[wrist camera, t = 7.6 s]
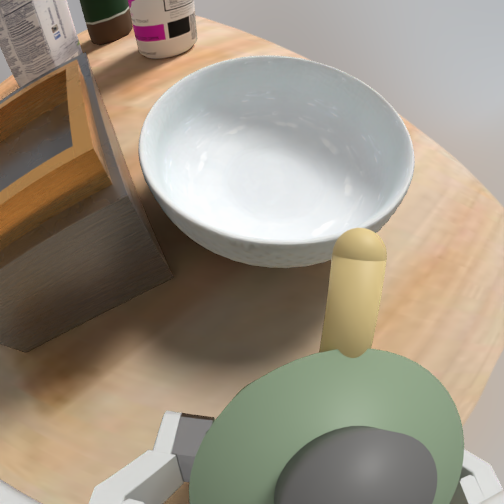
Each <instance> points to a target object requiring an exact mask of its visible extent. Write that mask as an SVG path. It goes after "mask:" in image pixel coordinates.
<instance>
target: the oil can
mask: <svg viewBox="0 0 504 504" xmlns="http://www.w3.org/2000/svg"><path fill="white" fill-rule="evenodd" d="M386 259H387V253H386V247H385V245H384V243H383V241H382V239H381V238H380V237H379V236H378V235H377V234H376V233H375V232H373V231H371V230H369V229H366V228H353V229H350V230H348V231H346V232H344V233H343V234H342V235H341V236H340V237H339V238H338V239H337V241H336V242H335V245H334V247H333V252H332V260H331V270H330V278H329V287H328V295H327V303H326V310H325V318H324V325H323V331H322V338H321V344H320V350H319V353H316V354H313V355H310V356H307V357H304V358H300V359H297V360H295V361H293V362H290V363H288V364H286V365H284V366H282V367H279V368H277V369H275V370H273V371H272V372H270V373H268V374H266V375H265V376H263V377H261V378H259V379H257V380H255V381H254V382H252V383H250V384H248V385H247V386H246V387H244V388H243V389H242V390H241V391H240V392H239V393H238V394H237V395H236V396H235V397H234V398H233V400H232V401H231V402H230V403H229V404H228V405H227V407H226V408H225V409H224V410H223V411H222V413H221V414H220V415H219V416H218V417H217V419H216V420H215V421H214V422H213V424H212V426H211V427H210V429H209V430H208V432H207V433H206V435H205V437H204V438H203V440H202V442H201V445H200V447H199V449H198V451H197V454H196V456H195V459H194V463H193V467H192V470H191V475H190V484H189V500H190V504H450V502H451V499H452V497H453V495H454V493H455V490H456V488H457V485H458V481H459V478H460V475H461V470H462V464H463V457H464V437H463V429H462V424H461V420H460V416H459V413H458V411H457V408H456V405H455V403H454V402H453V400H452V398H451V396H450V394H449V393H448V391H447V390H446V389H445V387H444V386H443V385H442V384H441V382H440V381H439V380H438V379H437V378H436V377H435V376H434V375H432V374H431V373H430V372H429V371H428V370H426V369H425V368H423V367H422V366H421V365H419V364H418V363H416V362H414V361H412V360H410V359H407V358H405V357H403V356H400V355H397V354H394V353H391V352H388V351H381V350H376V349H371V346H372V341H373V337H374V332H375V327H376V322H377V317H378V311H379V306H380V300H381V294H382V288H383V281H384V274H385V267H386Z"/></svg>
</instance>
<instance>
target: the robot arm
mask: <svg viewBox="0 0 504 504" xmlns="http://www.w3.org/2000/svg"><path fill="white" fill-rule="evenodd" d="M214 421H215V420H214V417H207V416H200V415H192V414H186V413H179V412H173V411H166V412H165V413H164V415H163V418H162V422H161V425H160V428H159V431H158V435H157V438H156V441H155V445H154V448H153V451H152V450H147V451H146V452H145V453H143V454H142V455H140V456H139V457H138V458H136V459H135V460H134V461H132V462H131V463H129V464H128V465H127V466H125V467H124V468H122V469H121V470H119V471H118V472H116V473H115V474H114V475H112V476H111V477H109V478H108V479H106V480H105V481H103V482H102V483H100V484H99V485H97V486H96V487H95V488H94V491H93V493H92V496H91V499H90V501H89V504H163V503H164V502H165V501H166V500H167V499H168V498H169V497H170V496H171V495H172V494H173V493H174V492H175V491H176V490H177V489H178V488H179V487H180V486H181V485H182V484H183V482H190V475H191V470H192V467H193V463H194V459H195V456H196V454H197V451H198V449H199V447H200V445H201V442H202V440H203V438H204V437H205V435H206V433H207V432H208V430H209V429H210V427H211V426H212V424H213V422H214ZM0 504H43V503H41V502H39V501H37V500H35V499H33V498H31V497H30V496H28V495H26V494H24V493H22V492H21V491H19V490H17V489H16V488H14V487H12V486H11V485H9V484H7V483H6V482H4V481H3V480H1V479H0ZM450 504H504V490H503V489H502V487H501V485H500V482H499V480H498V478H497V476H496V474H495V472H494V470H493V468H492V467H491V465H490V464H488V463H487V462H485V461H483V460H482V459H480V458H478V457H477V456H475V455H473V454H472V453H470V452H468V451H467V450H465V449H464V457H463V464H462V470H461V475H460V478H459V481H458V485H457V488H456V490H455V493H454V495H453V497H452V499H451V502H450Z"/></svg>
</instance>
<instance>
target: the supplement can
mask: <svg viewBox="0 0 504 504" xmlns="http://www.w3.org/2000/svg"><path fill="white" fill-rule="evenodd" d="M128 3H129V8H130V13H131V18H132V23H133V28H134V32H135V37H136V41H137V46H138V50H139V53H140V54H142V55H144V56H146V57H147V58H152V59H159V58H167V57H172V56H175V55H179V54H181V53H183V52H186V51H187V50H189V49H190V48H191V47H192V46H193V44H195V43H196V41H197V31H196V20H195V9H194V0H128Z"/></svg>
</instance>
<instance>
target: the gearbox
mask: <svg viewBox="0 0 504 504" xmlns="http://www.w3.org/2000/svg"><path fill="white" fill-rule="evenodd" d="M171 278H173V275H172V273H171V270H170V268H169V266H168V264H167V262H166V259H165V257H164V255H163V253H162V251H161V248H160V246H159V244H158V241H157V239H156V237H155V235H154V232H153V230H152V228H151V225H150V223H149V220H148V218H147V216H146V213H145V211H144V208H143V206H142V203H141V201H140V198H139V196H138V193H137V191H136V188H135V186H134V183H133V181H132V178H131V175H130V173H129V170H128V167H127V165H126V162H125V159H124V157H123V154H122V151H121V148H120V145H119V143H118V140H117V137H116V134H115V131H114V128H113V125H112V123H111V120H110V118H109V115H108V112H107V110H106V107H105V105H104V102H103V99H102V97H101V94H100V91H99V89H98V86H97V83H96V80H95V77H94V75H93V72H92V69H91V66H90V63H89V60H88V57H87V54H86V52H85V53H83V54H81V55H79V56H76V57H74V58H72V59H70V60H68V61H66V62H64V63H62V64H60V65H59V66H57V67H55V68H53V69H51V70H49V71H47V72H46V73H44V74H42V75H40V76H39V77H37V78H35V79H34V80H32V81H30V82H29V83H27V84H25V85H24V86H22V87H21V88H19V89H17V90H16V91H14V92H13V93H11V94H10V95H8V96H7V97H5V98H4V99H3V100H1V101H0V344H1V345H4V346H7V347H10V348H14V349H17V350H20V351H23V352H28V351H30V350H32V349H34V348H36V347H37V346H39V345H41V344H43V343H45V342H47V341H49V340H51V339H53V338H55V337H57V336H59V335H61V334H63V333H65V332H66V331H68V330H70V329H72V328H74V327H76V326H78V325H80V324H82V323H84V322H86V321H88V320H90V319H92V318H94V317H96V316H98V315H100V314H102V313H104V312H106V311H108V310H110V309H112V308H114V307H116V306H118V305H120V304H122V303H123V302H125V301H127V300H129V299H131V298H133V297H135V296H137V295H139V294H141V293H143V292H145V291H147V290H149V289H151V288H153V287H155V286H157V285H159V284H161V283H163V282H165V281H167V280H169V279H171Z"/></svg>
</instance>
